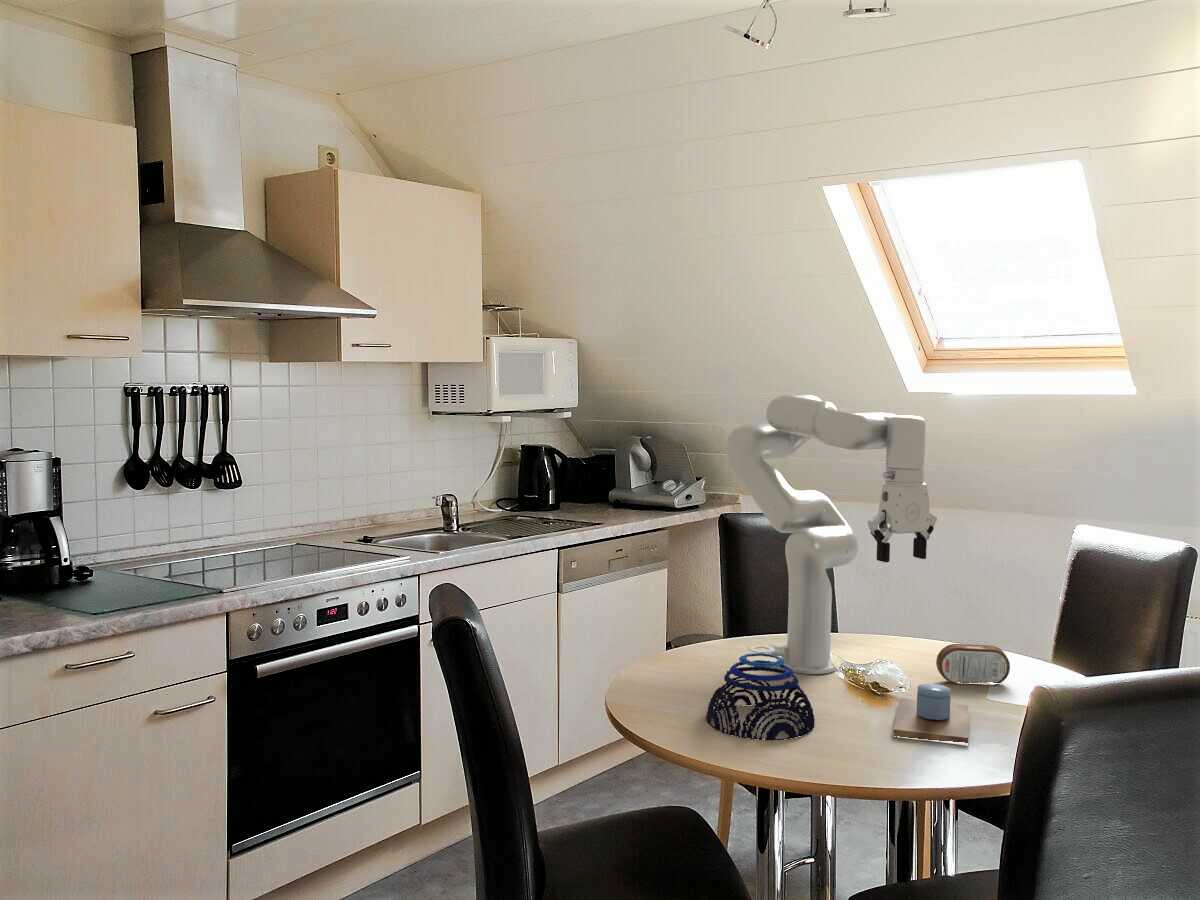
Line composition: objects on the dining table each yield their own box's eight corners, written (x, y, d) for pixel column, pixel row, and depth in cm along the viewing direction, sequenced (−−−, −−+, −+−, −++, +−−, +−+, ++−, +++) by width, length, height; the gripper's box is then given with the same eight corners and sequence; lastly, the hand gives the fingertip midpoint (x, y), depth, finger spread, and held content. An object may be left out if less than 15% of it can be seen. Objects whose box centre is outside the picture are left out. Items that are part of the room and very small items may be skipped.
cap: (949, 721, 204) (950, 694, 204) (916, 717, 206) (916, 691, 206) (950, 711, 210) (950, 685, 209) (917, 707, 212) (918, 682, 211)
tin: (1006, 683, 236) (1008, 645, 235) (1010, 687, 233) (1012, 648, 232) (935, 680, 238) (936, 642, 237) (938, 684, 234) (939, 645, 234)
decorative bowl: (731, 745, 196) (732, 666, 195) (691, 710, 215) (693, 638, 214) (832, 736, 202) (834, 659, 200) (785, 703, 221) (787, 633, 220)
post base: (893, 737, 201) (893, 729, 201) (899, 705, 220) (899, 697, 220) (968, 746, 197) (968, 737, 197) (967, 712, 216) (968, 705, 216)
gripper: (883, 480, 216) (880, 566, 217) (949, 476, 223) (946, 559, 225) (858, 476, 222) (855, 559, 224) (923, 473, 230) (920, 553, 232)
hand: (901, 559), depth 224 cm, fingers open, 9 cm apart
